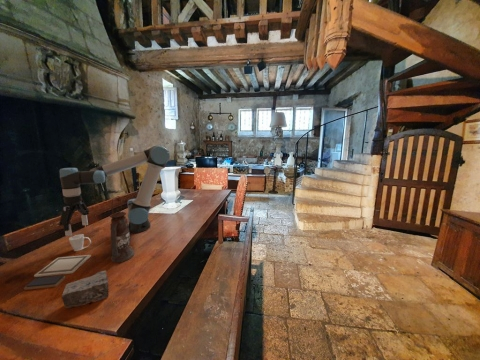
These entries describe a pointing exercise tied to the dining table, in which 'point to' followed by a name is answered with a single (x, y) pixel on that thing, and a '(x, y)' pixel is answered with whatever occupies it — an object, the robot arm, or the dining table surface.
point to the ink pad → (45, 282)
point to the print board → (63, 266)
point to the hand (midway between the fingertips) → (77, 230)
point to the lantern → (117, 230)
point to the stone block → (86, 290)
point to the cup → (78, 242)
